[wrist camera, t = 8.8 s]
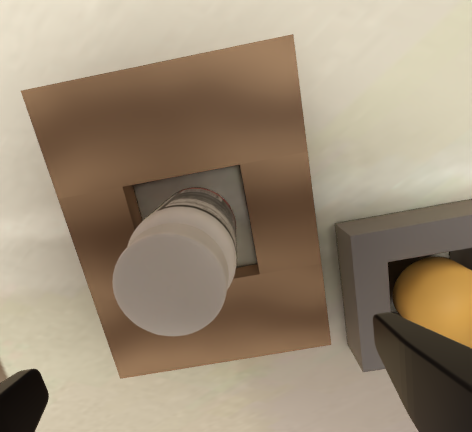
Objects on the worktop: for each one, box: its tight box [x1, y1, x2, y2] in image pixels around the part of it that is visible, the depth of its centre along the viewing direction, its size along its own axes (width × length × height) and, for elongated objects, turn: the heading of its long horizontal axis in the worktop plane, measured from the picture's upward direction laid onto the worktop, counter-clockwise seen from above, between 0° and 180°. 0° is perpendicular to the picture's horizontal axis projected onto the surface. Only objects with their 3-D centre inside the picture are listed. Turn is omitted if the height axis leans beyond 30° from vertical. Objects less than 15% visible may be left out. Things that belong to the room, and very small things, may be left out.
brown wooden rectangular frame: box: [21, 35, 331, 379], centre depth 17 cm, size 18×14×2 cm
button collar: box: [335, 199, 472, 372], centre depth 18 cm, size 9×9×2 cm
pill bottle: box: [112, 188, 237, 336], centre depth 14 cm, size 5×5×8 cm
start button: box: [393, 256, 472, 348], centre depth 16 cm, size 4×4×2 cm
